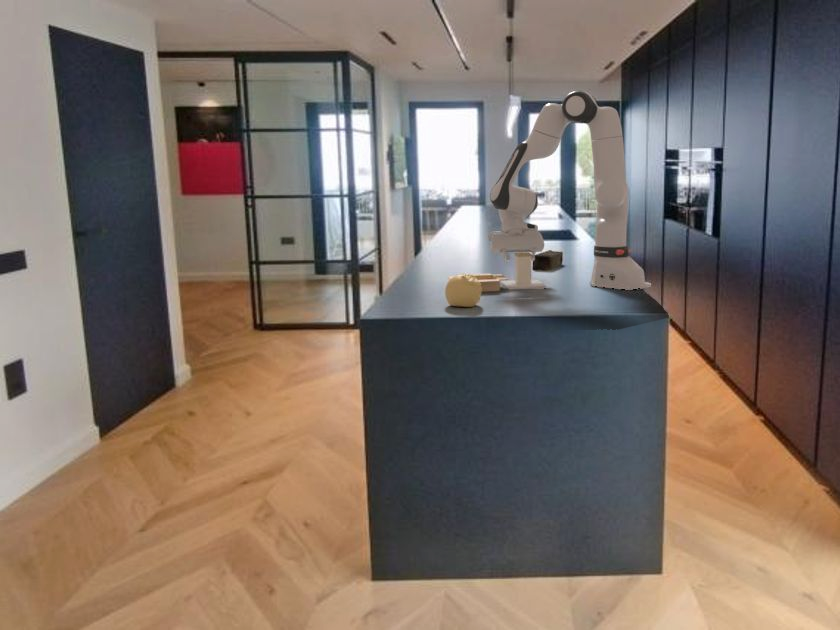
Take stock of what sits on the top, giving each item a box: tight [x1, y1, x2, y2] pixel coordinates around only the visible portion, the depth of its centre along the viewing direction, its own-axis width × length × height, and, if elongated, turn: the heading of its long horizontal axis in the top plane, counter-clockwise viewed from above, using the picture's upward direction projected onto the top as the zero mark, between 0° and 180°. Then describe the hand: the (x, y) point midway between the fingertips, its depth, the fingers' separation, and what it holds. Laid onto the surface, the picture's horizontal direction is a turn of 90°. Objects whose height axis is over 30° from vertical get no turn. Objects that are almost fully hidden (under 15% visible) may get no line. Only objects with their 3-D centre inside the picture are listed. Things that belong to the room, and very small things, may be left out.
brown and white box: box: [514, 252, 532, 284], centre depth 277 cm, size 5×5×11 cm
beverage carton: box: [531, 249, 564, 271], centre depth 323 cm, size 8×19×7 cm, turn 152°
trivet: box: [500, 278, 547, 290], centre depth 279 cm, size 14×14×1 cm
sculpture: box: [444, 272, 483, 308], centre depth 245 cm, size 11×12×11 cm
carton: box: [447, 272, 509, 293], centre depth 273 cm, size 17×20×4 cm
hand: (520, 260), depth 280 cm, fingers open, 8 cm apart
